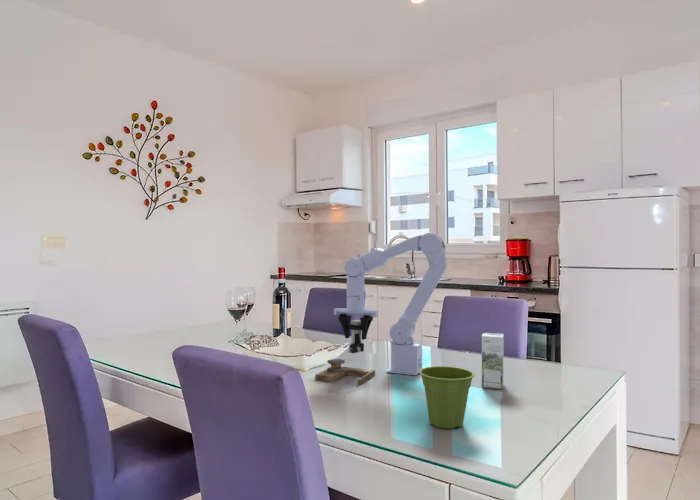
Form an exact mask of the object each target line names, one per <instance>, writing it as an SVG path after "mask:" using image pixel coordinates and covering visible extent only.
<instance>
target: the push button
mask: <svg viewBox="0 0 700 500" xmlns="http://www.w3.org/2000/svg"><path fill="white" fill-rule="evenodd" d="M348 325H349V329H350V332H351V334H350V336H351V337H350V339H351V342H350V344H349V345H348V348H347V350H348V351H347V353H351V354H357V353H361V352H362V353H363V352H365V351H364V350H365V343H364V342H362V327H361V320H360V319H351V321H350V323H348Z"/></svg>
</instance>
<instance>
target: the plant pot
mask: <svg viewBox="0 0 700 500" xmlns="http://www.w3.org/2000/svg"><path fill="white" fill-rule="evenodd" d="M422 368H423V369H421V370H420V371H419V373H418V374H420V375H421V379H422V384H423V386H424V393H425V400H426V407H427V414H428V421H429V424H430V425H432V426H434V427H436V428H439V429H445V430H452V429H454V428H457V427H458V428H461V427H462V426H464V421H465V415H466V414H465V413H466V408H467V404H468V403H467V402H468V397H469V391H470V388H471V387H472V381H473V378H474V377H475V376H476V374H475V373H474V372H473V371H471V370H469V369H465V368H463V367H462V368H461V367H456V366H444V365H443V366H441V365H437V366H427V367H422Z"/></svg>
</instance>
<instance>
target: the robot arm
mask: <svg viewBox="0 0 700 500" xmlns="http://www.w3.org/2000/svg"><path fill="white" fill-rule="evenodd" d="M411 251H415V252H422V253H423V254H424V256H425V257H426V261H427V263H428V266H429V267H428V269H427V271H426V273H425V274H424V276H423V278H422V280H421V282H420V283H419V285H418V287H417V289H416V290H415V293H414V294H413V296H412V297H411V299H410V301H409V303H408V305H407V307H405V310H404V311H403V313H402V314H401V315H400V317H399V319H398V321H397V322H395V323H393V325H391V327H390V329H389V336H390V339H391V340H390V368H388V369H386V371H385V372H386V373H391V374H399V375H411V376H417V375H418V374H420V373H419V371H420V370H421V369H423V368H424V367H423V348H422V347H423V346H422V344H420V343H416V342H415V339H414V338H413V337H412V336H413V335H414V334H415V329H416V324H417V322H418V320H419V318H420V316H421V314H422V312H423V310H424V308H425V307H426V305H427V303H428V301H429V300H430V299H431V296H432V294H433V293H434V291H435V289H436V287H437V286H438V284H439V283H440V280H441V278H442V277H443V275H444V273H445V271H446V270H447V267H448V266H447V265H448V264H447V251H446V244H445V241H444V240H443V238H442V237H441V236H440V235H439V234H437V233H433V232H425V233H424V234H420V235H416V236H413V237H410V238H407V239H405V240H403V241H401V242H399V243H396V244H394V245H392V246H390V247H388V248H386V249H383V248H380V247H378V248H376V247H372V248H370V251H367V252H365V253H363V254H361V253H360V254H357V258H356V257H350V259H348V260H346V262H345V264H344V267H343V268H344V272H345V273H346V308H342V307H341V308H339V307H335V308H333V315H335V316H338V315H339V316H338V317H337V318H338V319H337V320H338V321H339V322H340V325H341V327H342V330H343V334H344V338H345V339H349V338H351V337H350V336H351V329H349V325H348V323H351V320H352V316H353V317H355V316H357V317H358V316H359V317H360V318H359V320H361V327H362V331H361V341H363V340H366V339H367V337H368V336H367V335H368V333H369V332H368V331H369V328H370V325H371V324H372V321H373V320H374V318H378V317H379V310H376V309H367V308H365V307H366V306H365V303H366V302H365V297H366V295H365V294H366V293H365V291H366V290H365V288H366V287H365V274H366V273H369V272H371V271H373V270H375V269H378V268H381V267H383V266H386V264H387V262H388V260H389V259H391V258H395V257H397V256H400V255H403V254H405V253H408V252H411Z"/></svg>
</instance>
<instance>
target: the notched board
mask: <svg viewBox="0 0 700 500" xmlns="http://www.w3.org/2000/svg"><path fill="white" fill-rule="evenodd" d="M344 363H345V359H341V358H333V359H328V360H327V364H330V366H328V367H327V368H326V369H323V370H322V371H320V372H318V373H315V375H314V380H315V381H321V382H322V381H323V382H330V383H334V382H336V381H337V380H340V379H342V377H345V376H347V375H348V376H356V377H357V376H359V377H360V378H358V379H357V386H362V384H364V383H365V382H367V381H369V380H370V379H372V378H373V377H375V376H376V370H375V369H368V368H367V369H366V368H359V367H358V368H357V367H350V366H349V367H347V366H342V364H344Z"/></svg>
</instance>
